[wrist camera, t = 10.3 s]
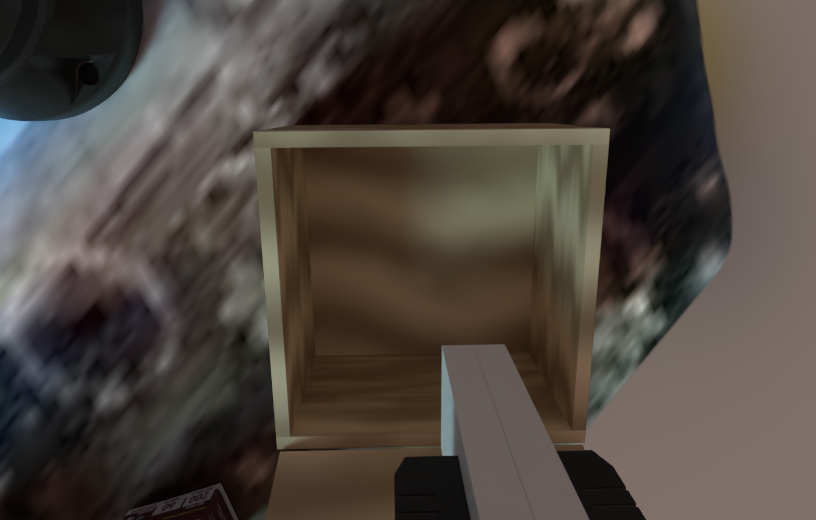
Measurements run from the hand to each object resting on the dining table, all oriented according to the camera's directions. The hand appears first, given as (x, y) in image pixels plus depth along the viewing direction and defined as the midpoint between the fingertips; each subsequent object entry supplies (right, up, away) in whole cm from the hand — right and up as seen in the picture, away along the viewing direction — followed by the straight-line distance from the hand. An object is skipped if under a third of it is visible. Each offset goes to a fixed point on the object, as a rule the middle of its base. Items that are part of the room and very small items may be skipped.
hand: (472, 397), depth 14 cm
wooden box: (-1, +4, +29) cm, 29 cm away
